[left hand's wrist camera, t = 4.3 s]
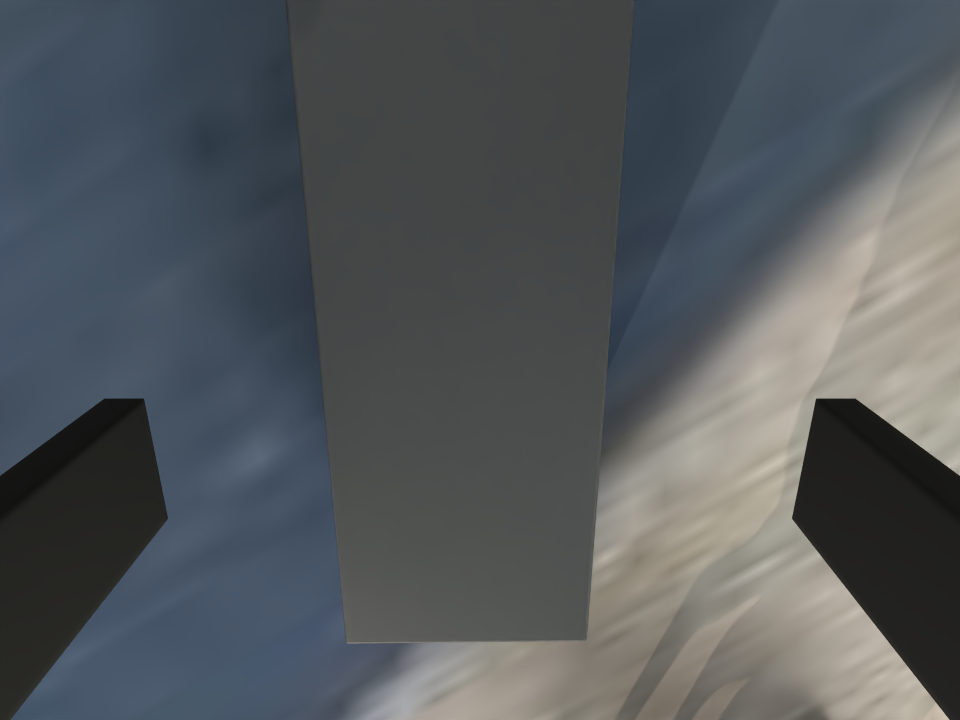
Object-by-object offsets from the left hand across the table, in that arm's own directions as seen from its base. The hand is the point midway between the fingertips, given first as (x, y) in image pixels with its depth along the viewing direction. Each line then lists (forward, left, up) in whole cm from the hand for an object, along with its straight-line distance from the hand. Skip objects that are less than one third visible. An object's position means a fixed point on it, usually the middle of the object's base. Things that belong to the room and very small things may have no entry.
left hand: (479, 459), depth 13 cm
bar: (+16, +28, -10) cm, 33 cm away
